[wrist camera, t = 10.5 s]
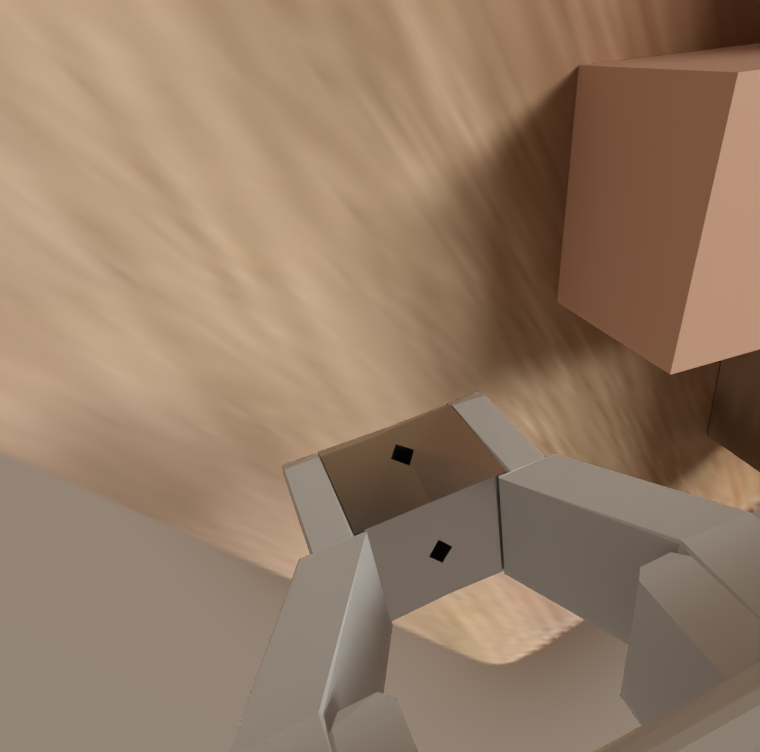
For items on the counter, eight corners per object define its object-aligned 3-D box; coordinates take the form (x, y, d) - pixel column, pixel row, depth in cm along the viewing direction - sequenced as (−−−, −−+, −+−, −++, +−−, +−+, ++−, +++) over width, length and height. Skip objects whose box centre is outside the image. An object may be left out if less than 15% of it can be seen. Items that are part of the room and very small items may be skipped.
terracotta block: (576, 65, 18) (738, 72, 13) (776, 40, 19) (984, 39, 15) (554, 300, 22) (670, 374, 17) (720, 261, 24) (868, 318, 19)
